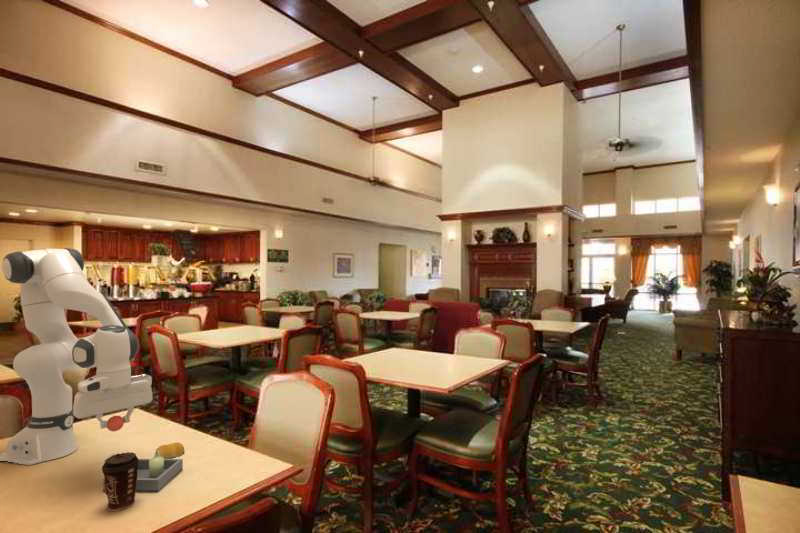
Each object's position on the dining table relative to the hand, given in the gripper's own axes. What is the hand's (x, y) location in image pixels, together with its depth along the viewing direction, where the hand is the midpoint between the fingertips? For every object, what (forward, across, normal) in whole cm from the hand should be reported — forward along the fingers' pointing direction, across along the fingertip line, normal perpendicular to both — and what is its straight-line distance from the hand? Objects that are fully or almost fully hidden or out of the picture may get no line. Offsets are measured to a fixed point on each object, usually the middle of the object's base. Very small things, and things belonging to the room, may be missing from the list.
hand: (115, 424), depth 132 cm
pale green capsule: (+17, -9, +6) cm, 20 cm away
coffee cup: (+18, +3, +15) cm, 24 cm away
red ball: (0, 0, 0) cm, 0 cm away
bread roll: (+18, -18, -9) cm, 27 cm away
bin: (+18, -6, +5) cm, 19 cm away
